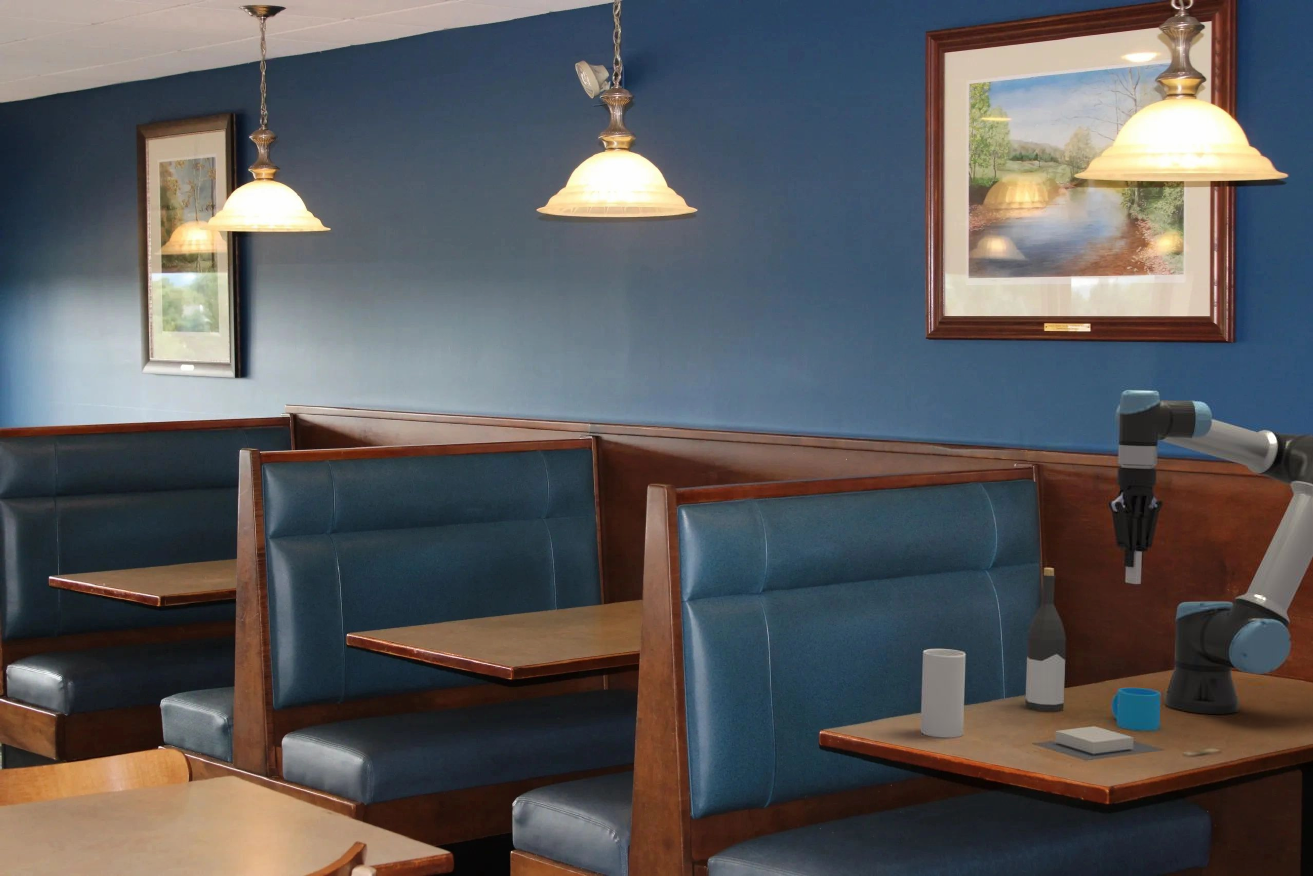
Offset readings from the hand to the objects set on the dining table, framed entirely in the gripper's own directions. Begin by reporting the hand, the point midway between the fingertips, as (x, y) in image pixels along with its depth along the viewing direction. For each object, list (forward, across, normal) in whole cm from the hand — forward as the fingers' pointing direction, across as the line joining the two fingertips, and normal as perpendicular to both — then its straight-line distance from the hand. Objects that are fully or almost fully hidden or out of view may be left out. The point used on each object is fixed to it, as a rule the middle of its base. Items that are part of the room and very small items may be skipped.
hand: (1133, 583), depth 316 cm
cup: (+30, +39, -11) cm, 50 cm away
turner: (+29, +12, +26) cm, 41 cm away
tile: (+27, +18, +14) cm, 35 cm away
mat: (+29, +22, +14) cm, 39 cm away
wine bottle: (+30, +3, -21) cm, 36 cm away
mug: (+30, +1, +2) cm, 30 cm away
